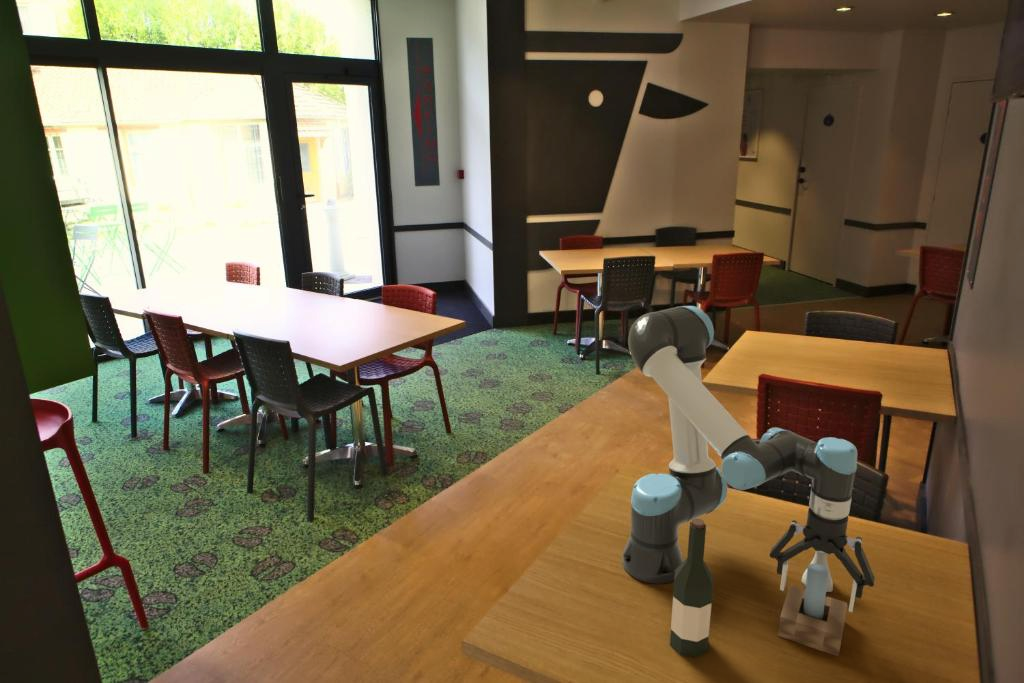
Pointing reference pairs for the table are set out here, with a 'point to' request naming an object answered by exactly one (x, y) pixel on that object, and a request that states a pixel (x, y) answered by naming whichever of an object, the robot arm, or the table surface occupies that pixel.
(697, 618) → the wine bottle
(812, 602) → the dowel
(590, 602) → the table surface
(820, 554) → the flask
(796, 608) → the bore block
